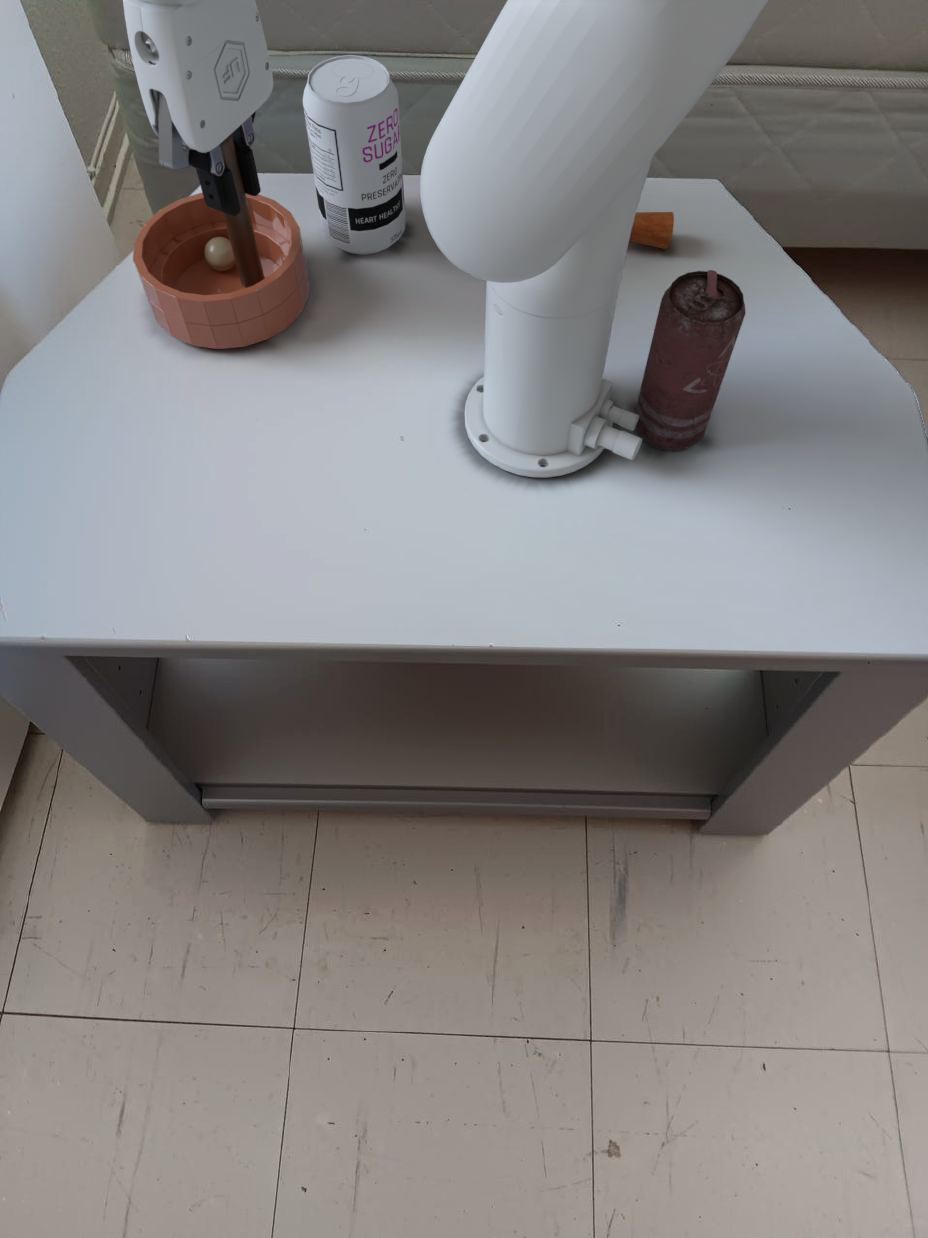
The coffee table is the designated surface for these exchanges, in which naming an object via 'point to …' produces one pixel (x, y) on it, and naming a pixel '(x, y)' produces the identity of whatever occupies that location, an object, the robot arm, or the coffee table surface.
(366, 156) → the supplement can
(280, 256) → the bowl
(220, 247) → the bead
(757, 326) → the coffee table surface
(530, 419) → the robot arm
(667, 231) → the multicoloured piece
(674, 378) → the can
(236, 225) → the stick
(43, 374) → the coffee table surface
